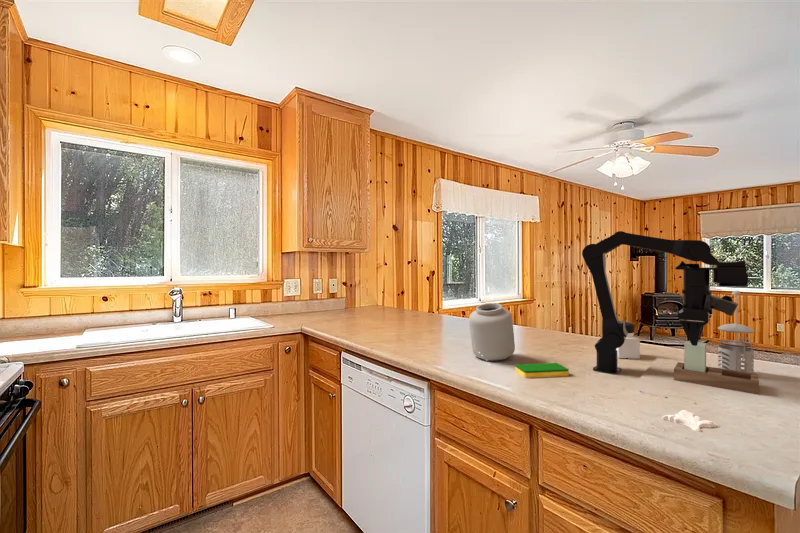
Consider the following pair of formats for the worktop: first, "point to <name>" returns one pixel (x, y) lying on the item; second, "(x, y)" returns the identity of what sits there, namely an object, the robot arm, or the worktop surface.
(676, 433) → the worktop surface
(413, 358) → the worktop surface
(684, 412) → the acanthus leaf ornament
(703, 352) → the green block
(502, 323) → the jar
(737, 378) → the pocket holder
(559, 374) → the dish sponge
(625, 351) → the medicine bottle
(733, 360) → the french press
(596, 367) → the robot arm
